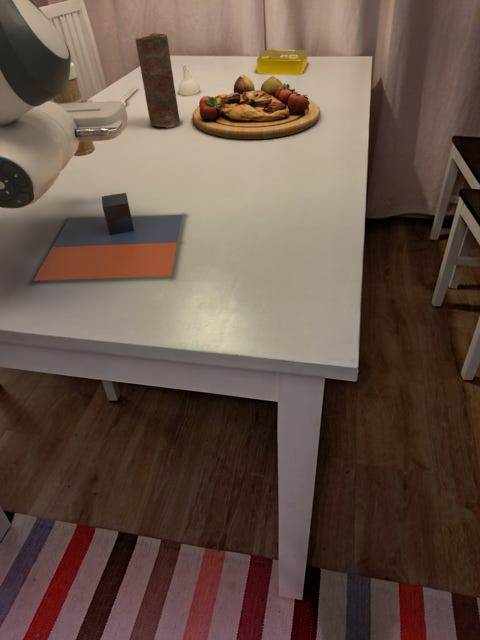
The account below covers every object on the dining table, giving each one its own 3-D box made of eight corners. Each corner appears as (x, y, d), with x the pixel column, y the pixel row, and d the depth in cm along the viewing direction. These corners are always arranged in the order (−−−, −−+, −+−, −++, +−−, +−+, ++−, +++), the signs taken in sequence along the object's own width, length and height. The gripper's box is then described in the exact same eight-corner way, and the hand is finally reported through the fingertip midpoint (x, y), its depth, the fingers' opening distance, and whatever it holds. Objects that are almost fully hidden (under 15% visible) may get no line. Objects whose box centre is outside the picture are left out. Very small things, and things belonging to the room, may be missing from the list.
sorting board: (34, 283, 68) (33, 280, 67) (69, 222, 81) (68, 219, 81) (171, 279, 67) (170, 275, 67) (183, 217, 81) (182, 214, 80)
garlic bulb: (204, 94, 136) (201, 63, 131) (185, 98, 134) (182, 67, 129) (193, 89, 140) (190, 60, 135) (175, 93, 138) (171, 63, 133)
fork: (140, 90, 142) (139, 84, 141) (120, 111, 127) (119, 104, 126) (130, 90, 143) (129, 84, 141) (109, 111, 128) (107, 104, 126)
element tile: (307, 63, 158) (308, 47, 155) (301, 75, 148) (302, 58, 144) (264, 63, 161) (264, 47, 158) (255, 74, 151) (255, 58, 147)
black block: (109, 235, 76) (102, 207, 73) (108, 223, 79) (101, 196, 76) (134, 230, 77) (128, 203, 73) (132, 219, 80) (126, 192, 76)
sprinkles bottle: (83, 145, 82) (60, 59, 73) (101, 150, 79) (79, 62, 71) (62, 154, 79) (36, 66, 70) (80, 159, 77) (55, 69, 68)
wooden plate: (203, 149, 104) (199, 110, 98) (186, 107, 128) (182, 74, 122) (338, 133, 108) (342, 95, 103) (297, 95, 132) (299, 62, 126)
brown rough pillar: (154, 133, 113) (139, 38, 100) (146, 124, 118) (131, 33, 105) (184, 127, 115) (173, 34, 102) (174, 119, 121) (163, 29, 107)
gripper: (113, 108, 62) (131, 81, 73) (-37, 115, 63) (2, 87, 73) (122, 155, 66) (138, 123, 77) (-18, 161, 67) (17, 128, 77)
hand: (71, 105), depth 75 cm, fingers closed on sprinkles bottle, 4 cm apart
